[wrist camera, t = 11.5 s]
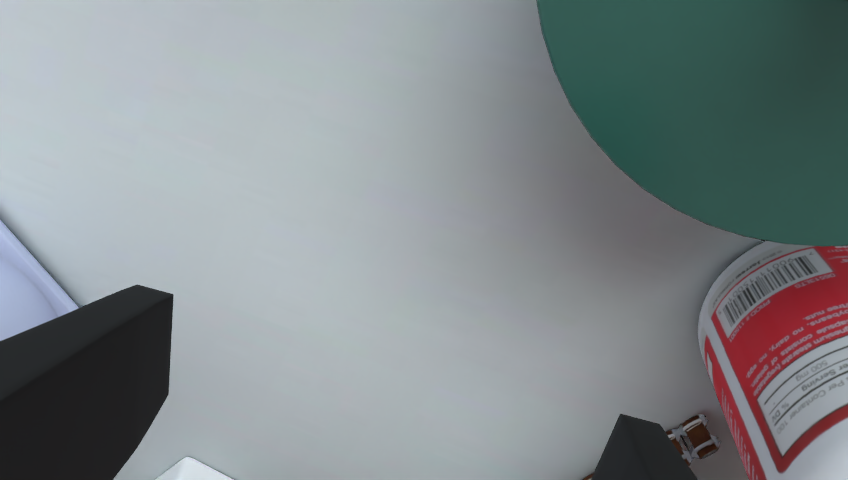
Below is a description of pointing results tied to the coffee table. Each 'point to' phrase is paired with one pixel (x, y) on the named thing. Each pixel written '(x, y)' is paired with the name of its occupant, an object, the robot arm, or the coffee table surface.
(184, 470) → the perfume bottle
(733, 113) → the lid
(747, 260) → the pill bottle
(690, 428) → the wristwatch
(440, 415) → the coffee table surface
